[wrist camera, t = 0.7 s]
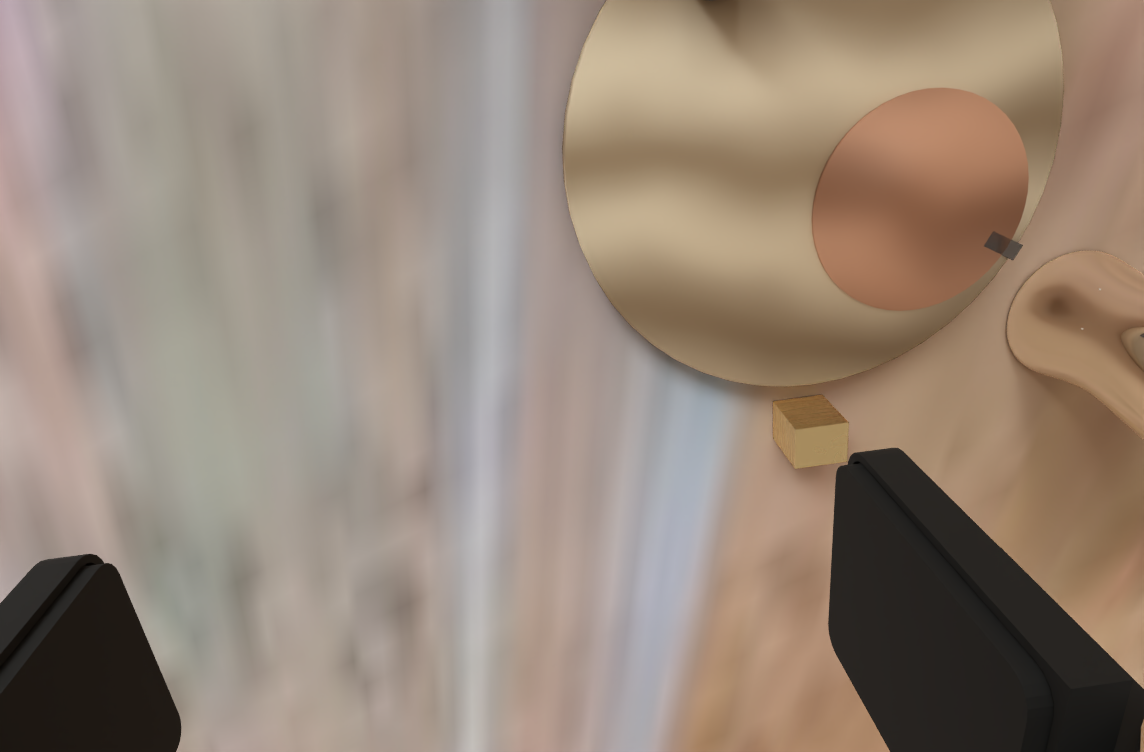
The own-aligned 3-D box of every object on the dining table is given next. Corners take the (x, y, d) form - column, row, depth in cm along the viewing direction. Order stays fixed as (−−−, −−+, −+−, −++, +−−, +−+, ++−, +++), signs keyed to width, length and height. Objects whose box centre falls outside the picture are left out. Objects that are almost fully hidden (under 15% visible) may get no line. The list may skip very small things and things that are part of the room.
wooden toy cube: (773, 401, 36) (795, 429, 33) (822, 394, 36) (848, 422, 33) (773, 438, 37) (795, 468, 34) (821, 431, 37) (847, 461, 34)
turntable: (531, -104, 27) (538, -138, 22) (1073, -165, 27) (1188, -209, 23) (588, 400, 35) (601, 452, 30) (1007, 343, 35) (1083, 385, 31)
